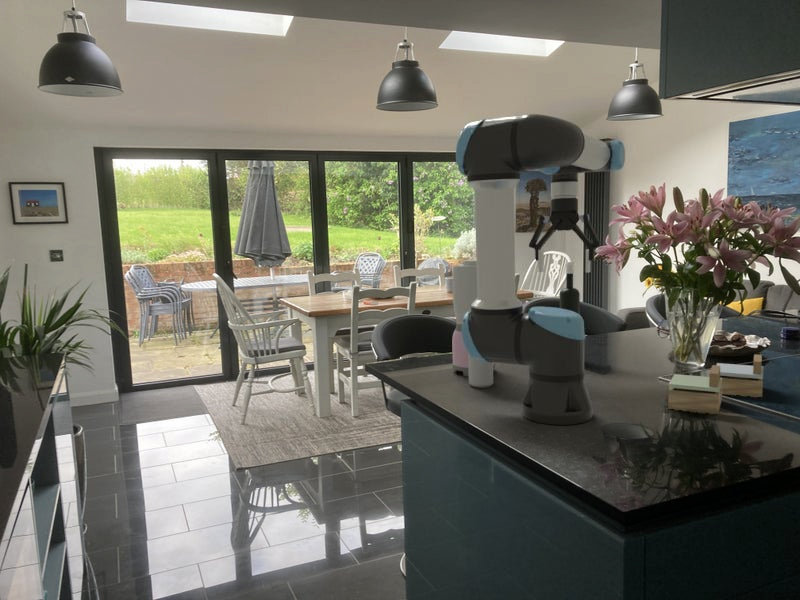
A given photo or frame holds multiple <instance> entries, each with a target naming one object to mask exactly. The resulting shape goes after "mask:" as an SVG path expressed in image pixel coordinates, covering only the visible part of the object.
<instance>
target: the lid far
mask: <svg viewBox="0 0 800 600" xmlns="http://www.w3.org/2000/svg"><path fill="white" fill-rule="evenodd" d="M762 356H763V354H757V353H755V354H754V355H753V362H752V363H753V364H752V365H747V364H734V363H721V362H720V363H719V362H716V365H717V366H720V376H732V377H744V378H756V379H763V380H764V366H762V359H763V357H762Z"/></svg>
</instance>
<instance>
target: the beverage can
mask: <svg viewBox="0 0 800 600" xmlns="http://www.w3.org/2000/svg"><path fill="white" fill-rule="evenodd" d="M468 358H469V376H468V384H470V385H471V386H472V387H474V388H480V389H483V388H484V389H485V388H491V386H492V385H493V384H494V369H493V363H489V362H486V361H480V360H476V359H474V358H472V357H471V356H470V355H469V353H468Z"/></svg>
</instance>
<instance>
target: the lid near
mask: <svg viewBox="0 0 800 600" xmlns="http://www.w3.org/2000/svg"><path fill="white" fill-rule="evenodd" d="M721 384H722V378H720V366H717V364H713V365H711V368H710V371H709V376H702V375H689V374H679V373H677V374H676V373H674V374H673V376H672V378H671V379H670V381H669V382H668V388H680V389H691V390H701V391H712V392H719V391H720V387H721Z"/></svg>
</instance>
